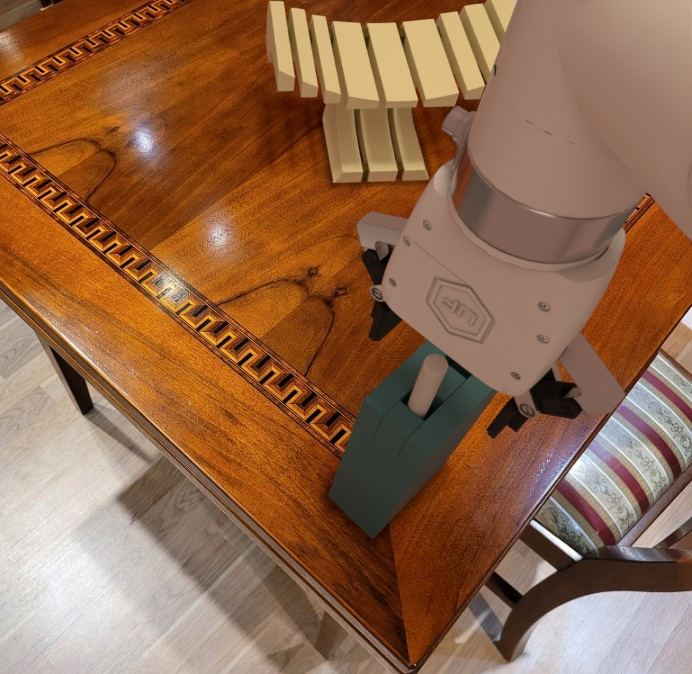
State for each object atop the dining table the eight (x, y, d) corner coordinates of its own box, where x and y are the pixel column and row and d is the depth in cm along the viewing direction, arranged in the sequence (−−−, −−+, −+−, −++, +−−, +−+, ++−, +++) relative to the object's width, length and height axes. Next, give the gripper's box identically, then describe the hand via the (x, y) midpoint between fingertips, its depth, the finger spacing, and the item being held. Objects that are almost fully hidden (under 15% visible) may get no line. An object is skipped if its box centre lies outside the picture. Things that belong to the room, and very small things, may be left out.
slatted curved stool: (463, 100, 98) (505, -17, 83) (490, 177, 90) (541, 63, 75) (263, 106, 97) (268, -12, 82) (271, 184, 89) (278, 70, 74)
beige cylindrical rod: (425, 421, 51) (453, 363, 41) (412, 435, 51) (438, 379, 41) (409, 409, 52) (433, 348, 42) (397, 422, 51) (418, 364, 42)
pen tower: (442, 466, 68) (520, 361, 50) (372, 539, 64) (428, 455, 46) (397, 427, 71) (456, 313, 52) (327, 495, 67) (363, 398, 48)
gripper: (339, 127, 31) (308, 325, 46) (684, 357, 25) (519, 504, 39) (438, 60, 34) (379, 267, 49) (772, 250, 27) (588, 425, 42)
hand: (442, 372), depth 44 cm, fingers open, 9 cm apart
